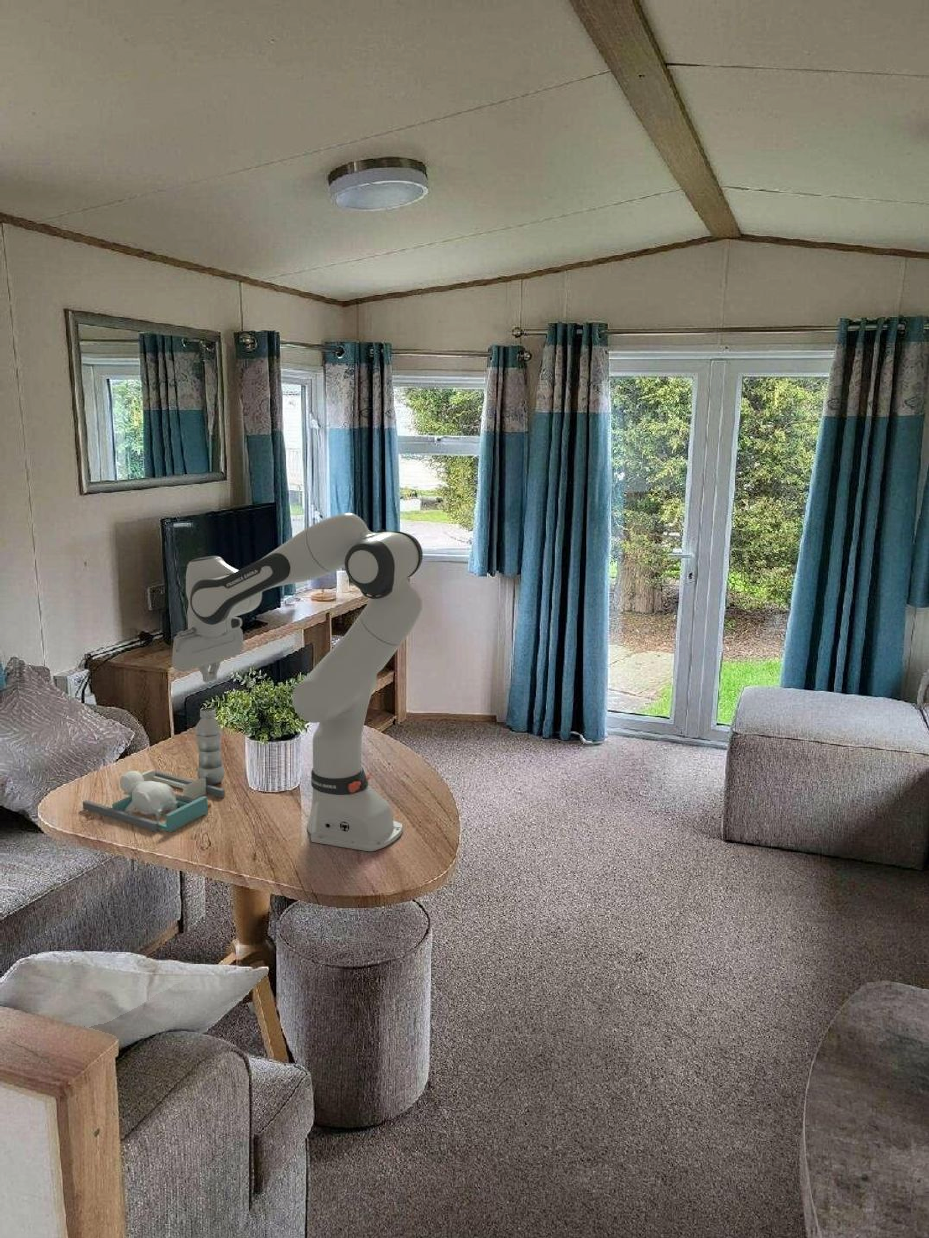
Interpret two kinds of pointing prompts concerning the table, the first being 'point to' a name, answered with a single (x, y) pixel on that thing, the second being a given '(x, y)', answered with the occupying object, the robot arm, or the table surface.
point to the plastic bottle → (209, 747)
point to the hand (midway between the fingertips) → (209, 680)
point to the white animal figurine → (147, 794)
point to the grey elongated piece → (180, 784)
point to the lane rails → (142, 821)
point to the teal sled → (174, 812)
